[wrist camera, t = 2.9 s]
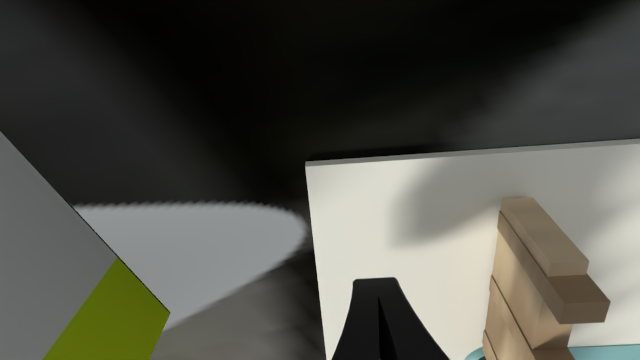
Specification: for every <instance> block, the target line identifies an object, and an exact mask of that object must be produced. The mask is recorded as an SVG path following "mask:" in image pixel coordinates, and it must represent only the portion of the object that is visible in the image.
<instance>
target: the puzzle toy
mask: <svg viewBox="0 0 640 360" xmlns="http://www.w3.org/2000/svg"><path fill="white" fill-rule="evenodd" d="M169 315H170V311H169V310H168V309H167V308H166V307H165V306H164V305H163V304H162V303H161V302H160V300H158V298H157V297H156V296H155V295H154V294H153V293H152V292H151V291H150V290H149V289H148V288H147V287H146V285H145V284H144V283H143V282H142V281H141V280H140V279H139V278H138V277H137V276H136V275H135V274H134V273H133V271H132V270H131V269H130V268H129V267H128V266H127V265H126V264H125V263H124V262H123V261H122V260H121V259H120V258H119V256H118V255H117V254H116V253H115V252H114V251H113V250H112V249H111V248H110V247H109V246H108V244H107V243H106V242H105V241H104V240H103V239H102V238H101V237H100V236H99V235H98V234H97V233H96V232H95V231H94V229H93V228H92V227H91V226H90V225H89V224H88V223H87V222H86V221H85V220H84V219H83V218H82V216H81V215H80V214H79V213H78V212H77V211H76V210H75V209H74V208H71V207H70V206H69V205H68V204H67V202H66V201H65V200H64V199H63V198H62V197H61V196H60V195H59V194H58V193H57V192H56V191H55V190H54V188H53V187H52V186H51V185H50V184H49V183H48V182H47V181H46V180H45V179H44V178H43V177H42V176H41V175H40V173H39V172H38V171H37V170H36V169H35V168H34V167H33V166H32V165H31V164H30V163H29V162H28V161H27V159H26V158H25V157H24V156H23V155H22V154H21V153H20V152H19V151H18V150H17V149H16V148H15V147H14V146H13V144H12V143H11V142H10V141H9V140H8V139H7V138H6V137H5V136H4V135H3V134H2V133H1V132H0V360H149V358H150V356H151V354H152V352H153V350H154V347H155V345H156V343H157V341H158V339H159V337H160V334H161V332H162V330H163V328H164V326H165V323H166V321H167V319H168V317H169Z"/></svg>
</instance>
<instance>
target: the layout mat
mask: <svg viewBox="0 0 640 360" xmlns="http://www.w3.org/2000/svg"><path fill="white" fill-rule="evenodd" d="M305 170H306V178H307V187H308V196H309V205H310V214H311V223H312V232H313V241H314V250H315V259H316V268H317V277H318V286H319V295H320V304H321V313H322V322H323V331H324V340H325V349H326V358H327V360H331V359H332V357H333V355H334V352H335V350H336V347H337V344H338V342H339V339H340V336H341V334H342V331H343V328H344V324H345V321H346V318H347V314H348V311H349V306H350V302H351V297H352V288H353V281H354V280H355V279H365V278H384V277H395V278H396V279H397V280H398V282H399V285H400V287H401V289H402V291H403V293H404V294H405V296H406V298H407V300H408V301H409V303H410V305H411V307H412V308H413V310H414V311H415V313H416V314H417V316H418V317H419V319H420V320H421V322H422V323H423V325H424V326H425V328H426V329H427V331H428V332H429V333H430V335H431V336H432V337H433V339H434V340H435V341H436V343H437V344H438V345H439V346H440V348H441V349H442V350H443V352H444V353H445V354H446V355H447V356H448V358H449V359H450V360H478V359H480V358H482V357H484V356H485V355H484V353H483V350H482V349H483V343H482V339H483V331H484V330H485V326H486V318H487V311H488V303H489V295H490V291H489V285H490V278H491V275H492V273H493V265H494V258H495V250H496V242H497V235H498V229H497V224H498V216H499V211H501V204H502V199H511V198H527V197H533V198H534V199H535V200H536V201H537V203H538V204H539V205H540V206H541V207H542V208H543V209H544V210H545V212H546V213H547V214H548V215H549V216H550V217H551V218H552V219H553V221H554V222H555V223H556V224H557V225H558V226H559V227H560V228H561V230H562V231H563V232H564V233H565V234H566V235H567V236H568V237H569V239H570V240H571V241H572V242H573V243H574V244H575V245H576V246H577V248H578V249H579V250H580V251H581V252H582V253H583V254H584V255H585V257H586V258H587V259H588V260H589V261H590V262H589V266H588V269H587V274H588V275H589V276H590V278H591V279H592V280H593V281H594V282H595V283H596V285H597V286H598V287H599V288H600V289H601V291H602V292H603V293H604V294H605V295H606V296H607V298H608V299H609V300H610V301H611V302H610V306H609V309H608V312H607V315H606V319H605V322H604V323H582V324H573V327H572V330H571V334H570V338H569V342H568V346H567V347H568V349H569V350H570V352H571V354H572V355H573V357H574V358H575V360H640V139H626V140H612V141H598V142H583V143H569V144H554V145H540V146H525V147H511V148H496V149H482V150H467V151H453V152H438V153H424V154H409V155H395V156H381V157H366V158H352V159H337V160H323V161H308V162H306V164H305ZM380 360H381V359H380Z"/></svg>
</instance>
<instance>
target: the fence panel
mask: <svg viewBox="0 0 640 360" xmlns="http://www.w3.org/2000/svg"><path fill="white" fill-rule="evenodd" d="M497 229H498V235H497V242H496V250H495V258H494V265H493V273H492V275H491V278H490V285H489V291H490V295H489V303H488V311H487V318H486V326H485V330H484V331H483V339H482V343H483V349H482V350H483V353H484V355H485V358H486V360H575V358H574V357H573V355H572V354H571V352H570V350H569V349H568V347H567V346H568V342H569V338H570V334H571V330H572V327H573V324H582V323H604V322H605V319H606V315H607V312H608V309H609V306H610V302H611V301H610V300H609V299H608V298H607V296H606V295H605V294H604V293H603V292H602V291H601V289H600V288H599V287H598V286H597V285H596V283H595V282H594V281H593V280H592V279H591V278H590V276H589V275H588V274H587V269H588V266H589V262H590V261H589V260H588V259H587V258H586V257H585V255H584V254H583V253H582V252H581V251H580V250H579V249H578V248H577V246H576V245H575V244H574V243H573V242H572V241H571V240H570V239H569V237H568V236H567V235H566V234H565V233H564V232H563V231H562V230H561V228H560V227H559V226H558V225H557V224H556V223H555V222H554V221H553V219H552V218H551V217H550V216H549V215H548V214H547V213H546V212H545V210H544V209H543V208H542V207H541V206H540V205H539V204H538V203H537V201H536V200H535V199H534V198H533V197H527V198H511V199H502V204H501V211H499V216H498V224H497Z"/></svg>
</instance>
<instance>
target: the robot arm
mask: <svg viewBox="0 0 640 360" xmlns="http://www.w3.org/2000/svg"><path fill="white" fill-rule="evenodd" d="M380 359H381V360H450V359H449V358H448V356H447V355H446V354H445V353H444V352H443V350H442V349H441V348H440V346H439V345H438V344H437V343H436V341H435V340H434V339H433V337H432V336H431V335H430V333H429V332H428V331H427V329H426V328H425V326H424V325H423V323H422V322H421V320H420V319H419V317H418V316H417V314H416V313H415V311H414V310H413V308H412V307H411V305H410V303H409V301H408V300H407V298H406V296H405V294H404V293H403V291H402V289H401V287H400V285H399V282H398V280H397V279H396V278H395V277H384V278H365V279H355V280H354V281H353V288H352V297H351V302H350V306H349V311H348V314H347V318H346V321H345V324H344V328H343V331H342V334H341V336H340V339H339V342H338V344H337V347H336V350H335V352H334V355H333V357H332V359H331V360H380Z"/></svg>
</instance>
